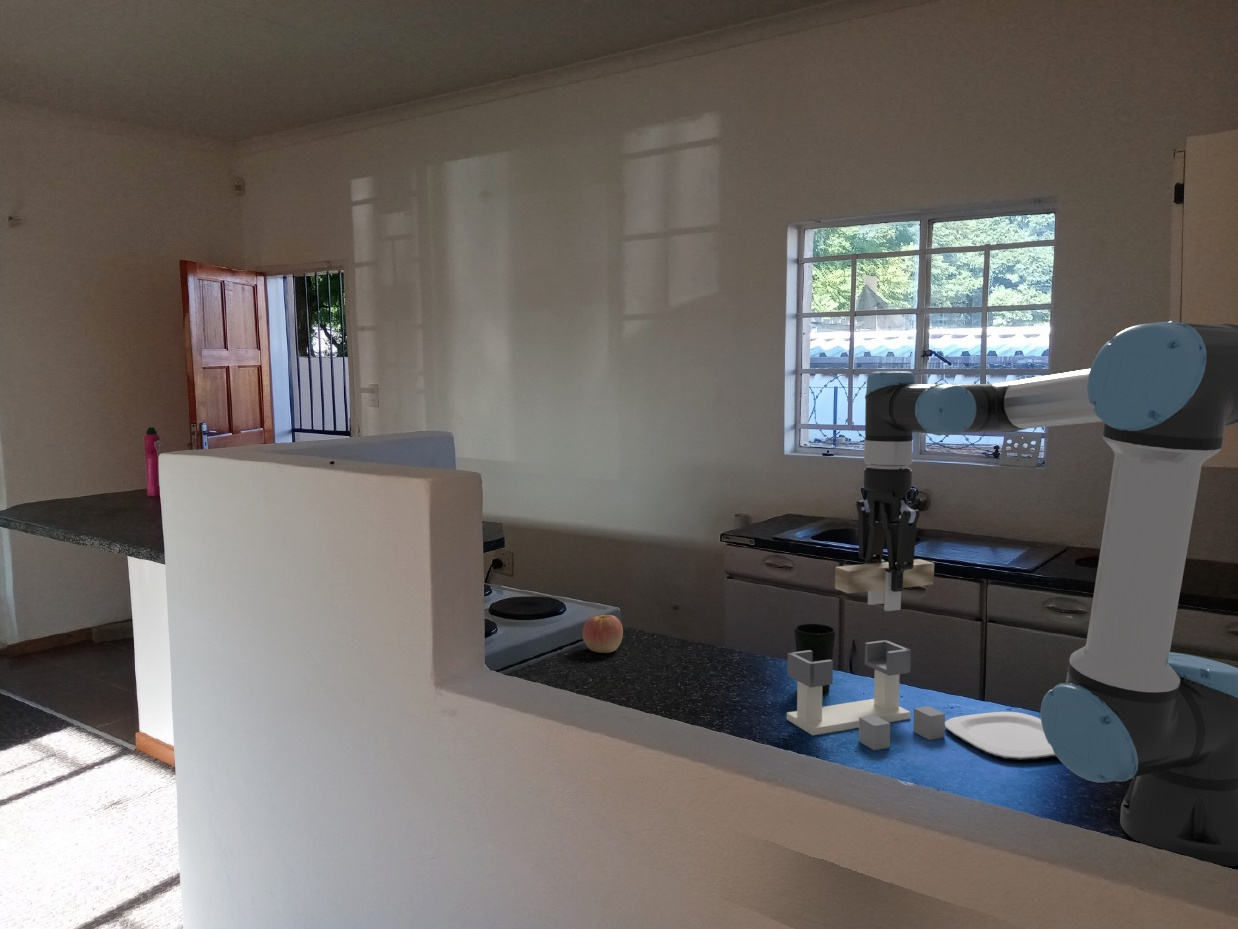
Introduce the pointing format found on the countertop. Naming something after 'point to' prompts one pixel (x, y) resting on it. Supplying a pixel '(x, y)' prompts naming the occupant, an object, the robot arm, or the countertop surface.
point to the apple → (603, 633)
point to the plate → (1003, 734)
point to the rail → (880, 576)
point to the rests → (925, 724)
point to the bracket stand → (846, 716)
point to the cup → (816, 643)
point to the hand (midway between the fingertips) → (883, 606)
